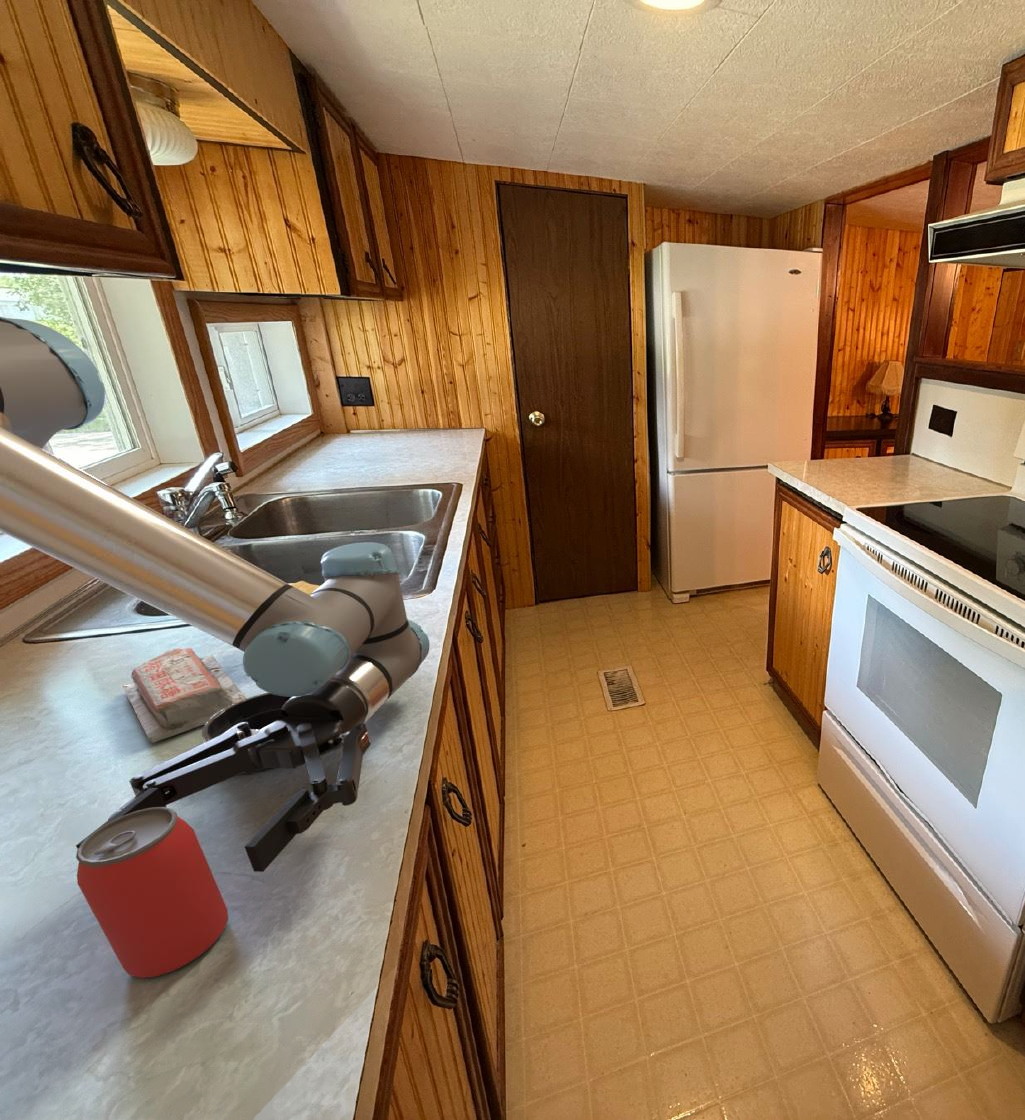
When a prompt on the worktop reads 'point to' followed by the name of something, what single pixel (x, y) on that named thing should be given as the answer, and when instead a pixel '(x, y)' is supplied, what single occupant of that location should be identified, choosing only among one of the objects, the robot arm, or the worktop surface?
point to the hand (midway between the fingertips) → (169, 859)
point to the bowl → (246, 716)
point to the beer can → (151, 891)
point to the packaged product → (179, 692)
